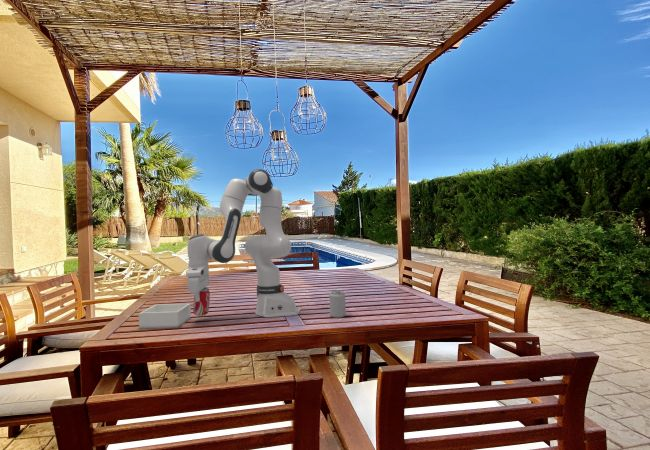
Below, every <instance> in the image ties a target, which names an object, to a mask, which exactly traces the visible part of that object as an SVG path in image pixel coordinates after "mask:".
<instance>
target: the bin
mask: <svg viewBox="0 0 650 450" xmlns="http://www.w3.org/2000/svg"><path fill="white" fill-rule="evenodd" d="M191 304H192V303H161V304H159V303H157V304H154V305H152V306H150V307H148V308H146V309H144V310H142V311H141V312H139V313H138V325H139V326H138V329H139V330H147V329H148V330H150V329H153V330H154V329H155V330H157V329H179V328H180V327H181V326H182V325H184V324H186V322H187V321H189V320H190V319H191V318H192V311H191V308H192V306H191Z"/></svg>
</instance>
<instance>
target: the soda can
mask: <svg viewBox="0 0 650 450" xmlns="http://www.w3.org/2000/svg"><path fill="white" fill-rule="evenodd" d="M199 295H200V301H197V302H196V299H195V296H193V304H192V313H193V314H194V315H195V316H196V317H197V316H199V317H203V316H206V315H207V314H209V310H210V309H209V308H210V301H211V299H210V298H211V292H210V289H209V288H208V287H206V288H204V289H202V290H201V291H200V294H199Z"/></svg>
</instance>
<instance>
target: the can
mask: <svg viewBox="0 0 650 450" xmlns="http://www.w3.org/2000/svg"><path fill="white" fill-rule="evenodd" d="M346 311H347V310H346V294H345V293H344V290H340V289H339V290H331V291H330V293H329V316H331V318H335V319H336V318H338V319H340V318H344V317H345V316H346Z"/></svg>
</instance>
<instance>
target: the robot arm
mask: <svg viewBox="0 0 650 450" xmlns="http://www.w3.org/2000/svg"><path fill="white" fill-rule="evenodd" d="M273 186H274V184H273V181H272V179H271V176H270V175H269V173H268V171H266V170H264V169H262V168H257V169H255V170H254V169H253V170H252V171H250V173H249V175H248V176H247V177H246V179H242V178H235V177H234V178H232V179H230V181H229V182H228V183H227V186H226V187H225V189H224V191H223V194H222V196H221V200H220V203H219V212H220V213H221V214H222V215H223V216H224V218H225V225H224V227H223V231H222V235H221V238H220V239H215V238H211V237H209V236H207V235H205V234H204V233H203V234H202V233H201V234H196V235H192V236H191V237H189V238H188V240H187V256H188V269H186V270H187V271H186V272H185V276H186V277H187V286H188V287H187V288H188V291H189V294H191V295H192V294H193V295H194V296H195V299H196V302H197V301H200V295H199V294H200V291H201V290H202V289H204V288H207V287H208V286H209V285H210V275H209V272H210V270H209V269H210V268H209V261H210V260H212V261H216V262H218V263H221V264H227V263H229V262H230V261H232V260H233V259H234V257H235V254H236V239H237V236H238V232H239V231H238V230H239V228H240V224H241V219H242V212H243V208H244V205H245V202H246V200H247V198H248V196H251V197H257V196H259V199H260V206H259V217H258V218H259V219H258V223H259V224H260V226H261V227H262V228H264V229H265V234H266V235H252V236H250V237H249V238H247V239H246V241H245V244H244V250H245V252H246V254H247V255H248V256H250V258H251V259H252V261H253V263H254V265H255V268H256V276H257V277H256V278H257V285H256V297H257V298H256V300H257V301H256V307H255V311H254V314H255V315H256V316H260V317H264V318H274V317H275V318H276V317H288V316H289V317H290V316H291V317H292V316H297V315H299V314H300V312H301V309H300V307H298V306H296V302H295V299H294V298H293V296H290V294H288V293H287V292H285V286H284V285H283V284H281V283H280V281H281V279H280V269H279V267H278V266H277V265H276V264H274V262H273V260H272V258H273V259H274V258H275V259H279V258H284V257H287V256H288V255H289V254H290V253H291V250H292V243H291V240H290V239H289V238H288V237H287V236H286V234H285V233H284V230H283V226H282V213H283V196H282V191H281V190H280V188H277V187H275V186H274V187H273ZM194 296H193V297H194Z"/></svg>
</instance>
